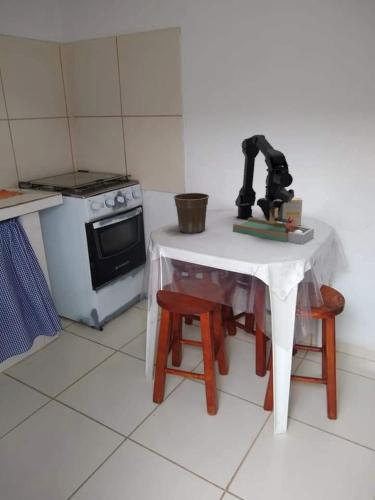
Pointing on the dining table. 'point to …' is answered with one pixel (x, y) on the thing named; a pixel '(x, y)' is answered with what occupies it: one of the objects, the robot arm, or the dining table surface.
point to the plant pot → (191, 211)
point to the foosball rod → (281, 220)
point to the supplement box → (293, 210)
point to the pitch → (273, 231)
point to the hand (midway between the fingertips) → (272, 218)
